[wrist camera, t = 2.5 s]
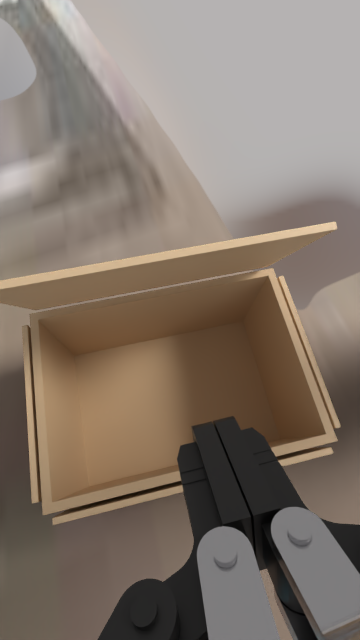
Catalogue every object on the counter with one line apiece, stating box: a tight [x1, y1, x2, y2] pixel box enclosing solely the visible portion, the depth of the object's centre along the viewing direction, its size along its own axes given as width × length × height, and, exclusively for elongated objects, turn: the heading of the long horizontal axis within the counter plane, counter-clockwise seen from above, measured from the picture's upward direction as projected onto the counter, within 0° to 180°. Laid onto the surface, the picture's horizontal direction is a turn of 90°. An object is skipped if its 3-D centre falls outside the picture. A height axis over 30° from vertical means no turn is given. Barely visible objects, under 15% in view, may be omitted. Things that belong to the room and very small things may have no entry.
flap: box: [0, 222, 337, 310], centre depth 21 cm, size 19×1×10 cm, turn 103°
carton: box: [22, 268, 341, 525], centre depth 29 cm, size 21×15×11 cm
